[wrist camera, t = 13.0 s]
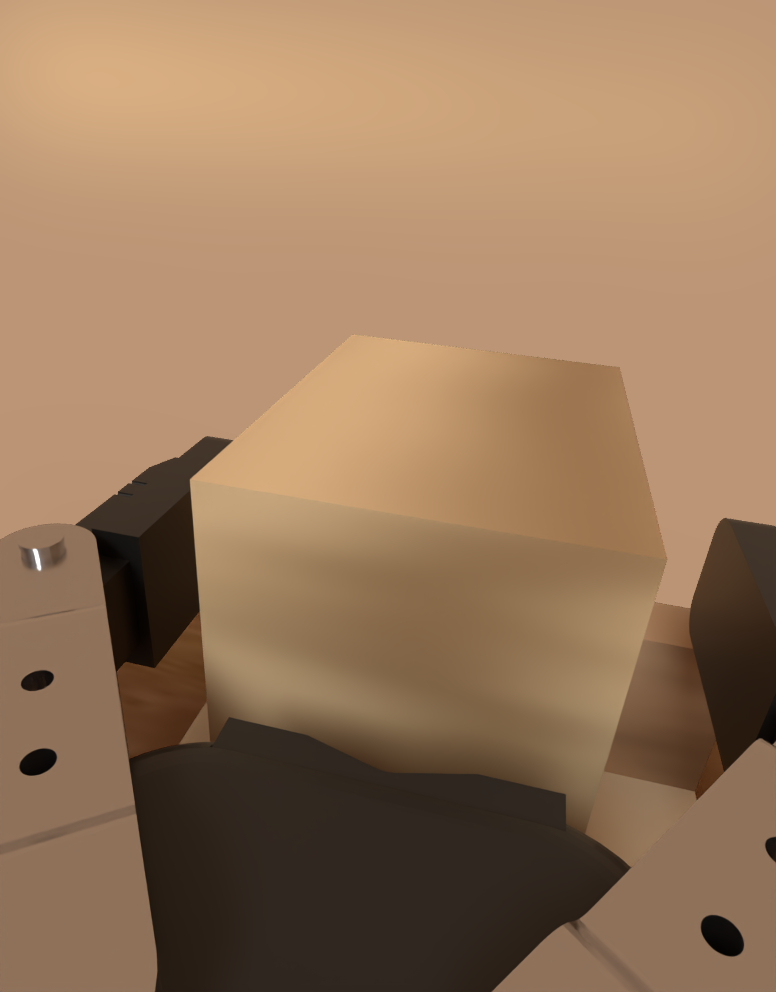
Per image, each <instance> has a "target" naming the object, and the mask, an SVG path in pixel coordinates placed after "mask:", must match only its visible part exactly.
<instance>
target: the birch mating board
mask: <svg viewBox="0 0 776 992" xmlns="http://www.w3.org/2000/svg"><path fill="white" fill-rule="evenodd" d="M689 617H690V608H683V607H678V606H673V605H667V604H662V603H656V602H654V605H653V609H652V612H651V615H650V619H649V622H648V625H647V629H646V632H645V635H644V639H643V642H642V645H641V649H640V652H639V655H638V659H637V662H636V665H635V669H634V672H633V675H632V679H631V682H630V685H629V689H628V692H627V695H626V699H625V702H624V705H623V709H622V712H621V715H620V719H619V722H618V725H617V729H616V732H615V735H614V739H613V742H612V745H611V749H610V752H609V755H608V759H607V762H606V765H605V769H604V772H603V775H602V779H601V782H600V786H599V789H598V792H597V796H596V799H595V802H594V806H593V809H592V812H591V816H590V819H589V822H588V826H587V829H586V832H585V834H586V835H587V836H589V837H591V838H592V839H594V840H596V841H598V842H599V843H601V844H602V845H604V846H605V847H606V848H608V849H609V850H610V851H612V852H613V853H614V854H616V855H617V856H619V857H620V858H621V859H622V860H623V861H625V862H626V863H627V864H628V865H629V866H630V867H631V868H632V867H633V866H634V865H635V863H636V862H637V861H638V860H639V859H640V858H641V857H642V856H643V855H644V854H645V853H646V852H647V851H648V850H649V849H650V848H651V847H652V846H653V845H654V844H655V843H656V842H657V841H658V840H659V839H660V838H661V837H662V836H663V835H664V834H665V833H666V832H667V831H668V830H669V829H670V828H671V827H672V826H673V825H674V824H675V823H676V821H677V820H678V819H679V818H680V817H681V816H682V815H683V814H684V813H685V812H686V811H687V810H688V809H689V808H690V807H691V806H692V805H693V804H694V803H695V802H696V801H697V800H696V794H695V790H696V788H697V785H698V783H699V780H700V777H701V775H702V772H703V770H704V767H705V765H706V762H707V760H708V757H709V755H710V752H711V750H712V747H713V745H714V742H715V739H716V737H715V733H714V729H713V725H712V721H711V717H710V713H709V709H708V706H707V702H706V698H705V694H704V690H703V686H702V682H701V678H700V674H699V670H698V666H697V662H696V658H695V654H694V650H693V646H692V642H691V638H690V633H689ZM196 742H210V734H209V721H208V708H207V702H206V703H205V705H204V706H203V708H202V709H201V711H200V712H199V714H198V715H197V717H196V719H195V720H194V722H193V723H192V725H191V726H190V728H189V729H188V731H187V733H186V734H185V736H184V737H183V739H182V740H181V742H180V743H179V745H180V744H186V743H196Z"/></svg>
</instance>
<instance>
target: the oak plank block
mask: <svg viewBox="0 0 776 992" xmlns="http://www.w3.org/2000/svg"><path fill="white" fill-rule="evenodd" d="M190 488H191V501H192V514H193V527H194V540H195V553H196V566H197V579H198V592H199V605H200V618H201V631H202V644H203V656H204V669H205V682H206V695H207V708H208V721H209V734H210V742H215V740H216V738H217V737H218V735H219V733H220V731H221V730H222V728H223V726H224V725H225V723H226V721H227V720H228V718H229V717H231V718H235V719H240V720H244V721H248V722H253V723H257V724H261V725H266V726H270V727H275V728H279V729H283V730H288V731H292V732H296V733H301V734H305V735H308V736H310V737H312V738H314V739H316V740H318V741H320V742H322V743H325V744H327V745H329V746H331V747H333V748H335V749H337V750H339V751H341V752H343V753H345V754H347V755H349V756H351V757H354V758H356V759H358V760H360V761H362V762H364V763H366V764H368V765H370V766H372V767H374V768H376V769H379V770H381V771H385V772H392V773H441V774H480V775H484V776H488V777H493V778H497V779H501V780H506V781H510V782H515V783H519V784H523V785H528V786H532V787H536V788H541V789H545V790H549V791H554V792H558V793H563V794H566V824H567V825H569V826H571V827H573V828H575V829H577V830H579V831H581V832H582V833H584V834H585V832H586V829H587V826H588V822H589V819H590V816H591V812H592V809H593V806H594V802H595V799H596V796H597V792H598V789H599V786H600V782H601V779H602V775H603V772H604V769H605V765H606V762H607V759H608V755H609V752H610V749H611V745H612V742H613V739H614V735H615V732H616V729H617V725H618V722H619V719H620V715H621V712H622V709H623V705H624V702H625V699H626V695H627V692H628V689H629V685H630V682H631V679H632V675H633V672H634V669H635V665H636V662H637V659H638V655H639V652H640V649H641V645H642V642H643V639H644V635H645V632H646V629H647V625H648V622H649V619H650V615H651V612H652V609H653V605H654V602H655V599H656V595H657V592H658V589H659V585H660V582H661V578H662V575H663V572H664V568H665V565H666V562H667V557H666V553H665V549H664V545H663V541H662V537H661V533H660V529H659V524H658V521H657V516H656V513H655V508H654V504H653V500H652V496H651V492H650V489H649V484H648V480H647V476H646V472H645V468H644V464H643V460H642V456H641V452H640V448H639V444H638V440H637V436H636V432H635V428H634V424H633V420H632V416H631V412H630V407H629V404H628V399H627V396H626V391H625V387H624V384H623V380H622V375H621V371H620V368H619V367H612V366H604V365H596V364H588V363H580V362H572V361H564V360H556V359H548V358H539V357H532V356H523V355H515V354H508V353H499V352H491V351H482V350H475V349H467V348H459V347H451V346H442V345H435V344H427V343H418V342H411V341H403V340H394V339H386V338H379V337H370V336H362V335H354V334H353V335H352V336H350V338H348V339H347V340H346V341H345V342H344V343H343V344H341V345H340V346H339V347H338V348H337V349H336V350H335V351H334V352H333V353H331V354H330V355H329V356H328V357H327V358H326V359H325V360H323V361H322V362H321V363H320V364H319V365H318V366H317V367H316V368H314V369H313V370H312V371H311V372H310V373H309V374H308V375H307V376H306V377H304V378H303V379H302V380H301V381H300V382H299V383H298V384H297V385H295V387H293V388H292V389H291V390H290V391H289V392H288V393H286V394H285V395H284V396H283V397H282V398H281V399H280V400H279V401H277V402H276V403H275V404H274V405H273V406H272V407H271V408H270V409H269V410H267V411H266V412H265V413H264V414H263V415H262V416H261V417H259V418H258V419H257V420H256V421H255V422H254V423H253V424H252V425H251V426H250V427H248V428H247V429H246V430H245V431H244V432H243V433H242V434H240V435H239V436H238V437H237V438H236V439H235V440H234V441H233V442H231V443H230V444H229V445H228V446H227V447H226V448H225V449H224V450H222V451H221V452H220V453H219V454H218V455H217V456H216V457H215V458H213V459H212V460H211V461H210V462H209V463H208V464H207V465H206V466H204V467H203V468H202V469H201V470H200V471H199V472H198V473H197V474H195V475H194V476H193V477H192V478H191V479H190Z"/></svg>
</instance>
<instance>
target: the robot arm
mask: <svg viewBox="0 0 776 992" xmlns="http://www.w3.org/2000/svg"><path fill="white" fill-rule="evenodd" d="M233 441H234V440H228V439H222V438H215V437H208V436H207V437H204V438H203V439H202V440H200V441H199V442H198V443H197V444H195V445H194V446H193V447H192V448H191V449H189V450H188V451H187V452H186V453H184V454H183V455H182V456H181V457H179V458H173V459H170V460H167V461H165V462H162V463H160V464H157V465H154V466H152V467H149V468H148V469H147V470H146V471H144V472H143V473H142V474H140V475H139V476H138V477H136V478H135V479H134V480H133V481H132V484H127V485H126V486H125V487H124V488H122V489H121V490H120V491H118V495H113V496H112V497H111V498H109V499H108V500H107V501H106V502H104V503H103V504H102V505H100V506H99V507H98V508H96V509H95V510H94V511H93V512H91V513H90V514H89V515H87V516H86V517H85V518H84V519H82V520H81V521H80V522H78V523H77V524H76V525H71V524H45V525H38V526H33V527H29V528H25V529H22V530H19V531H16V532H14V533H12V534H9V535H7V536H6V537H4V538H2V539H1V540H0V992H776V527H775V526H772V525H766V524H759V523H753V522H746V521H740V520H734V519H727V518H724V519H722V520H721V521H720V523H719V524H718V526H717V528H716V531H715V533H714V536H713V539H712V542H711V545H710V548H709V551H708V554H707V557H706V560H705V563H704V566H703V569H702V572H701V576H700V578H699V581H698V584H697V587H696V590H695V593H694V596H693V600H692V604H691V609H690V617H689V633H690V638H691V642H692V646H693V650H694V654H695V658H696V662H697V666H698V670H699V674H700V678H701V682H702V686H703V690H704V694H705V698H706V702H707V706H708V709H709V713H710V717H711V721H712V725H713V729H714V733H715V737H716V741H717V745H718V749H719V753H720V757H721V761H722V765H723V769H724V773H723V774H722V775H721V776H720V777H719V778H718V779H717V781H716V782H715V783H714V784H713V785H712V786H711V787H710V788H709V789H708V790H707V791H706V792H705V793H704V794H703V795H702V796H701V797H700V798H699V799H698V800H697V801H696V802H695V803H694V804H693V805H692V806H691V807H690V808H689V809H688V810H687V811H686V812H685V813H684V814H683V815H682V816H681V817H680V818H679V819H678V820H677V821H676V823H675V824H674V825H673V826H672V827H671V828H670V829H669V830H668V831H667V832H666V833H665V834H664V835H663V836H662V837H661V838H660V839H659V840H658V841H657V842H656V843H655V844H654V845H653V846H652V847H651V848H650V849H649V850H648V851H647V852H646V853H645V854H644V855H643V856H642V857H641V858H640V859H639V860H638V861H637V862H636V863H635V865H634V866H633V867H632V868H631V867H630V866H629V865H628V864H627V863H626V862H625V861H623V860H622V859H621V858H620V857H619V856H617V855H616V854H614V853H613V852H612V851H610V850H609V849H608V848H606V847H605V846H604V845H602V844H601V843H599V842H598V841H596V840H594V839H592V838H591V837H589V836H587V835H586V834H584V833H582V832H581V831H579V830H577V829H575V828H573V827H571V826H569V825H567V824H566V794H563V793H558V792H554V791H549V790H545V789H541V788H536V787H532V786H528V785H523V784H519V783H515V782H510V781H506V780H501V779H497V778H493V777H488V776H484V775H480V774H441V773H392V772H385V771H381V770H379V769H376V768H374V767H372V766H370V765H368V764H366V763H364V762H362V761H360V760H358V759H356V758H354V757H351V756H349V755H347V754H345V753H343V752H341V751H339V750H337V749H335V748H333V747H331V746H329V745H327V744H325V743H322V742H320V741H318V740H316V739H314V738H312V737H310V736H308V735H305V734H301V733H296V732H292V731H288V730H283V729H279V728H275V727H270V726H266V725H261V724H257V723H253V722H248V721H244V720H240V719H235V718H231V717H229V718H228V720H227V721H226V723H225V725H224V726H223V728H222V730H221V731H220V733H219V735H218V737H217V738H216V740H215V742H196V743H186V744H180V745H175V746H169V747H164V748H161V749H157V750H154V751H150V752H147V753H144V754H141V755H139V756H136V757H133V758H131V759H130V757H129V751H128V744H127V737H126V731H125V724H124V717H123V711H122V704H121V697H120V691H119V684H118V678H117V670H118V669H119V668H120V667H121V666H122V665H123V663H124V662H130V663H134V664H139V665H143V666H148V667H152V668H155V667H156V666H157V664H158V663H159V662H160V660H161V659H162V658H163V657H164V655H165V654H166V653H167V652H168V650H169V649H170V648H171V646H172V645H173V644H174V643H175V641H176V640H177V639H178V638H179V636H180V635H181V634H182V633H183V631H184V630H185V629H186V627H187V626H188V625H189V624H190V622H191V621H192V620H193V619H194V617H195V616H196V615H197V613H198V612H199V611H200V605H199V592H198V579H197V566H196V553H195V540H194V527H193V514H192V501H191V488H190V479H191V478H192V477H193V476H194V475H195V474H197V473H198V472H199V471H200V470H201V469H202V468H203V467H204V466H206V465H207V464H208V463H209V462H210V461H211V460H212V459H213V458H215V457H216V456H217V455H218V454H219V453H220V452H221V451H222V450H224V449H225V448H226V447H227V446H228V445H229V444H230V443H231V442H233Z"/></svg>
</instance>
